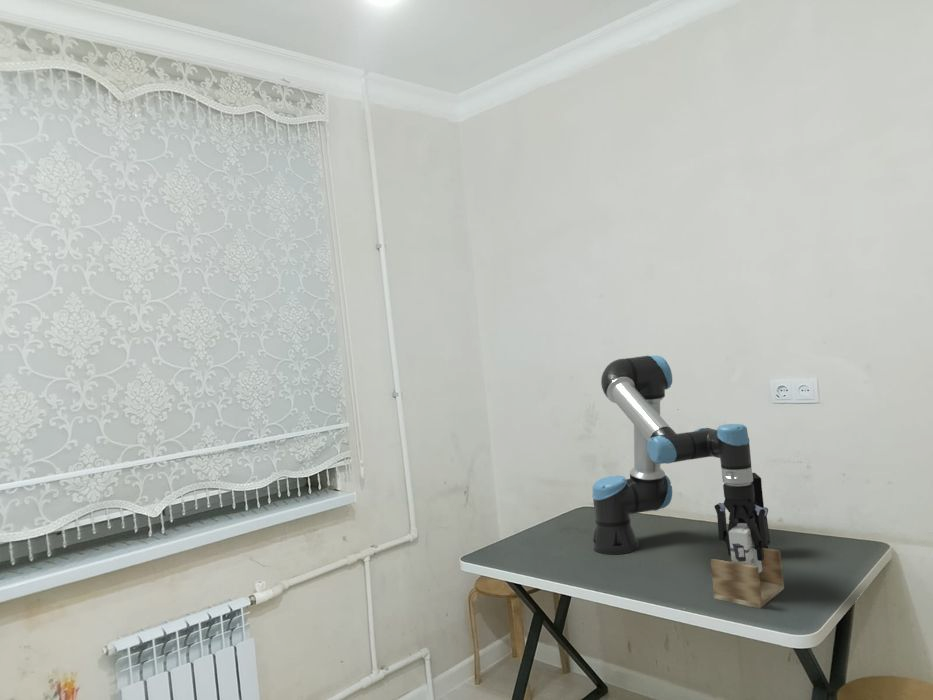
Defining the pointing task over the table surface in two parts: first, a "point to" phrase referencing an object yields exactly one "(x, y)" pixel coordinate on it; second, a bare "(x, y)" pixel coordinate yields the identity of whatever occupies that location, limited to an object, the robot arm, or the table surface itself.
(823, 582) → the table surface
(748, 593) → the holder
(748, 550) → the ink box
